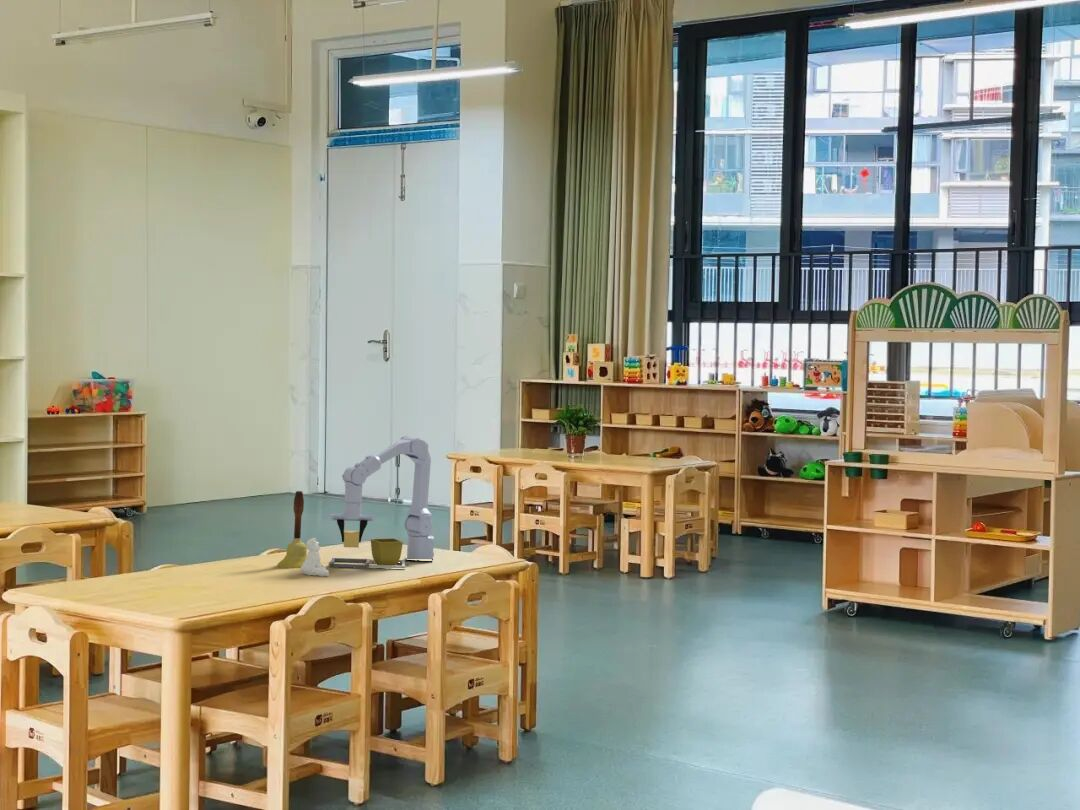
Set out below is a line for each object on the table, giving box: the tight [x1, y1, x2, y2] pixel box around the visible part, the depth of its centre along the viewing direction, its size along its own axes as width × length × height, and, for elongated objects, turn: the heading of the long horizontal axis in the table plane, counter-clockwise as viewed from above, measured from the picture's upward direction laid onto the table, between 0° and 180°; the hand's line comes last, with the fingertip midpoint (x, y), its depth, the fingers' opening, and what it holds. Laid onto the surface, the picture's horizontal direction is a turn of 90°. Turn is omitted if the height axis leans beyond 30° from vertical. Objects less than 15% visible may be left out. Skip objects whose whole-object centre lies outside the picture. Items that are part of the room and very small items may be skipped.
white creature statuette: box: [300, 537, 330, 577], centre depth 426 cm, size 10×9×12 cm
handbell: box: [277, 490, 308, 569], centre depth 442 cm, size 12×12×25 cm
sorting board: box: [329, 557, 406, 569], centre depth 449 cm, size 25×13×1 cm, turn 96°
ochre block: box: [343, 530, 360, 549], centre depth 448 cm, size 5×5×5 cm
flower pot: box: [370, 537, 404, 566], centre depth 449 cm, size 9×9×9 cm
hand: (351, 541), depth 448 cm, fingers closed on ochre block, 5 cm apart
